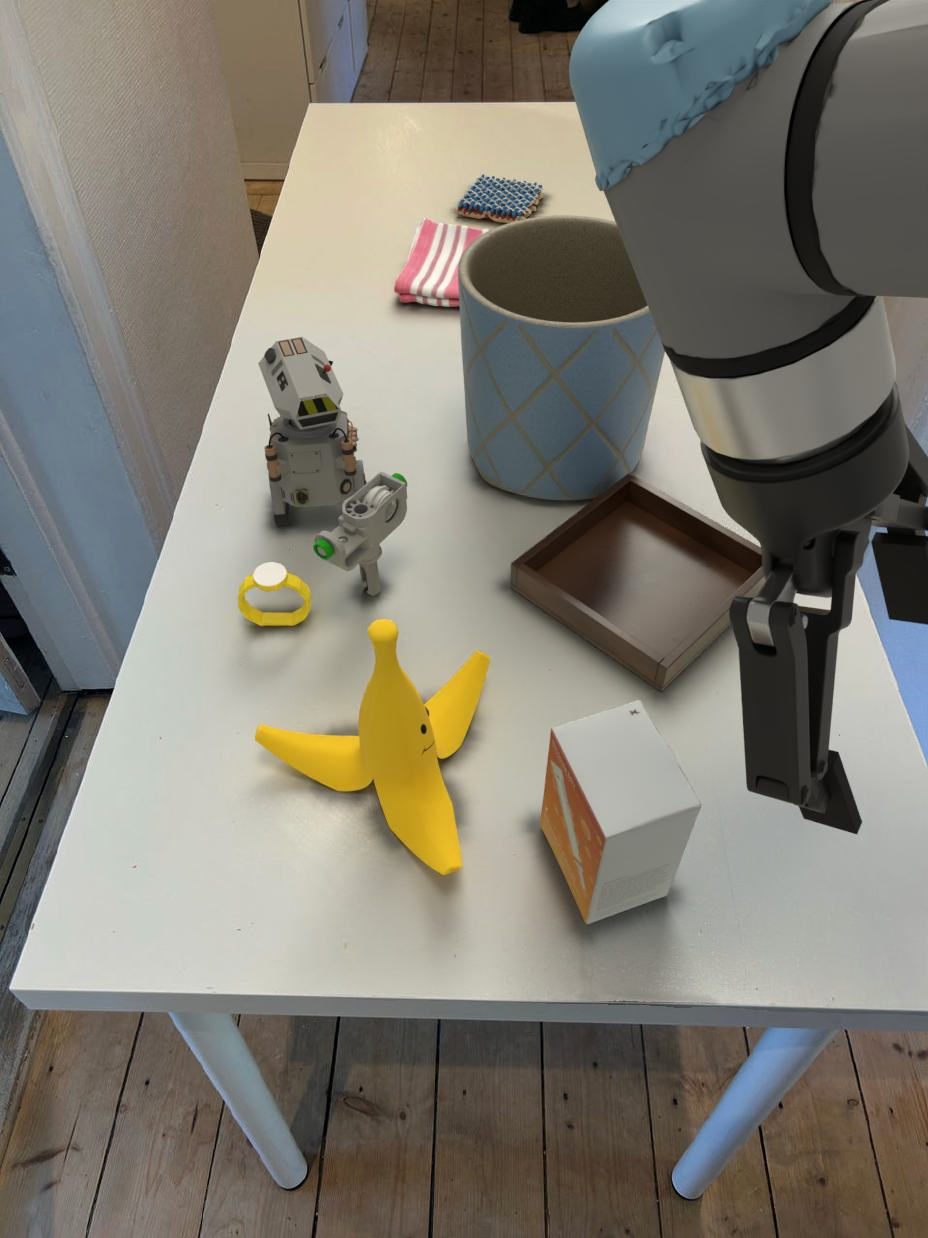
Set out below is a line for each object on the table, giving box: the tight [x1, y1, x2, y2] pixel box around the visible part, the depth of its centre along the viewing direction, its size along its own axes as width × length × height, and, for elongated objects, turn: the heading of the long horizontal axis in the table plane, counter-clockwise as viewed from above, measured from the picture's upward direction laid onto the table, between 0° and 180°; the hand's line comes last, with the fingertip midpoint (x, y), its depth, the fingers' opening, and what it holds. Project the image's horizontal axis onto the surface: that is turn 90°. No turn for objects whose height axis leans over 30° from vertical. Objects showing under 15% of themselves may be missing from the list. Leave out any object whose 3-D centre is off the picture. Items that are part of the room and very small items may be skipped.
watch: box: [237, 561, 312, 627], centre depth 76 cm, size 6×3×6 cm, turn 93°
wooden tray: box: [509, 473, 766, 692], centre depth 79 cm, size 17×17×3 cm
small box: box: [539, 699, 702, 925], centre depth 58 cm, size 8×6×13 cm
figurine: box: [257, 336, 368, 526], centre depth 83 cm, size 9×12×15 cm
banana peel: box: [254, 618, 491, 876], centre depth 62 cm, size 16×19×17 cm
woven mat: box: [455, 173, 545, 224], centre depth 127 cm, size 10×11×2 cm
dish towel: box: [393, 217, 491, 308], centre depth 114 cm, size 17×23×4 cm
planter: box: [458, 214, 666, 501], centre depth 85 cm, size 19×19×20 cm
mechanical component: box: [312, 471, 408, 597], centre depth 76 cm, size 3×10×10 cm, turn 145°
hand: (876, 713), depth 49 cm, fingers open, 13 cm apart
